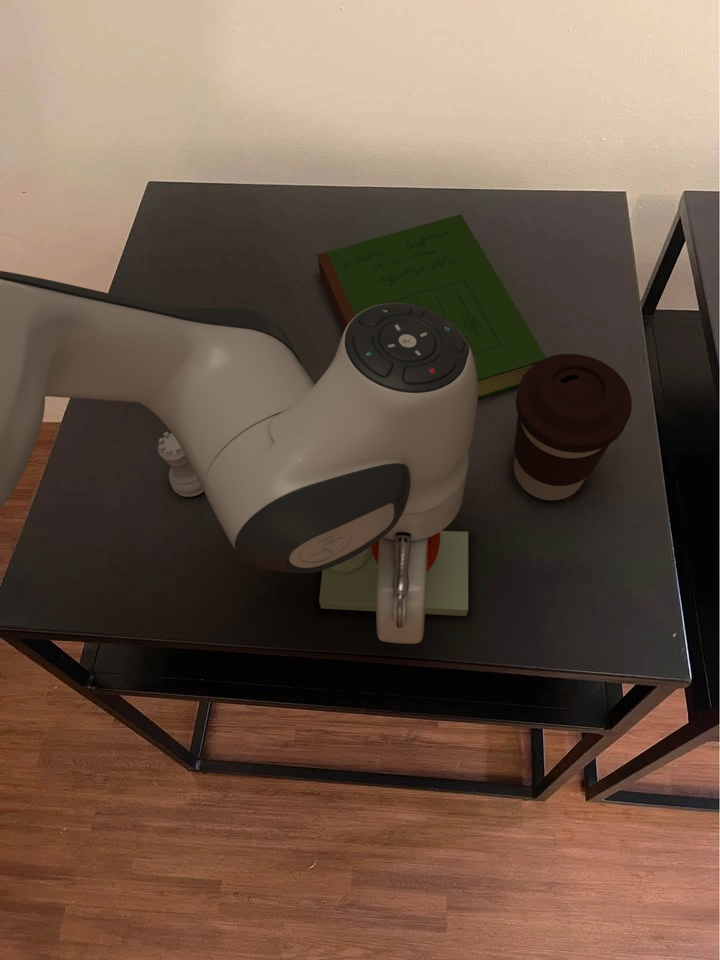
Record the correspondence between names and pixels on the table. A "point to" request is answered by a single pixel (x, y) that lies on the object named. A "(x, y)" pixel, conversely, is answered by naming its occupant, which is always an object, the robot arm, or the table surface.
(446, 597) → the scale
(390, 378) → the robot arm
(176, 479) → the rook chess piece
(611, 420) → the coffee cup
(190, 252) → the table surface
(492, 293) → the hardcover book
